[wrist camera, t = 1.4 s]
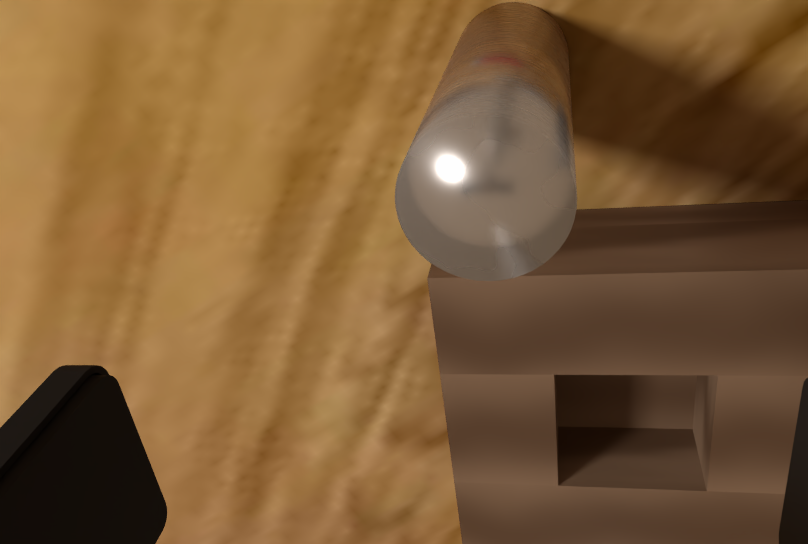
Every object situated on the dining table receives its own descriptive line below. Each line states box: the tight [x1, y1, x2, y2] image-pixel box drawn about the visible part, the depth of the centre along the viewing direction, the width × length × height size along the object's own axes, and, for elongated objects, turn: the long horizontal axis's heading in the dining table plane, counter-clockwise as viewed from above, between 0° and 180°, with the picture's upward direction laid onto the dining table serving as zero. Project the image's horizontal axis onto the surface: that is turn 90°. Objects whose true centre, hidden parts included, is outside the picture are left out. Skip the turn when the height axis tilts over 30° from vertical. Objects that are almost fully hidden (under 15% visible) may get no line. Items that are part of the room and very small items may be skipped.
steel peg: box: [395, 2, 577, 281], centre depth 21 cm, size 4×4×12 cm
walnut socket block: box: [427, 200, 808, 544], centre depth 30 cm, size 14×14×5 cm
